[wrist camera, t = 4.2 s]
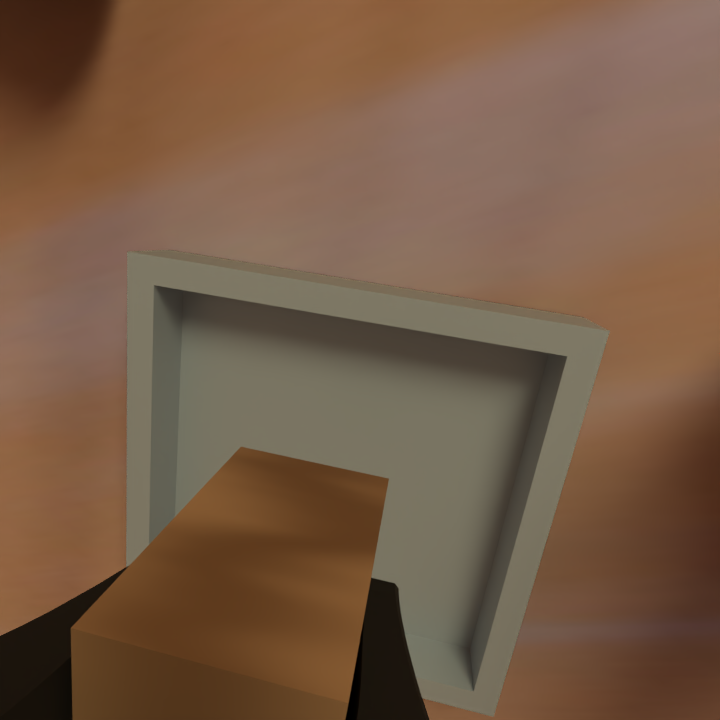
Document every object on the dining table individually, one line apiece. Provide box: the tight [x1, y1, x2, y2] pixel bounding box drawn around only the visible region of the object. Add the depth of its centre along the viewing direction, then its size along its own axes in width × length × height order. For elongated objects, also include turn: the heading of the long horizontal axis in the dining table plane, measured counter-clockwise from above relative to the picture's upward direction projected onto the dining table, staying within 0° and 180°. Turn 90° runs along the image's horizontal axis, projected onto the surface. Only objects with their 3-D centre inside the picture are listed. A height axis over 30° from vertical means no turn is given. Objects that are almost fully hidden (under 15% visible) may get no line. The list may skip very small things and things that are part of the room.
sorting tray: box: [126, 250, 610, 717], centre depth 18 cm, size 16×16×3 cm
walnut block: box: [71, 447, 389, 720], centre depth 10 cm, size 4×4×6 cm
